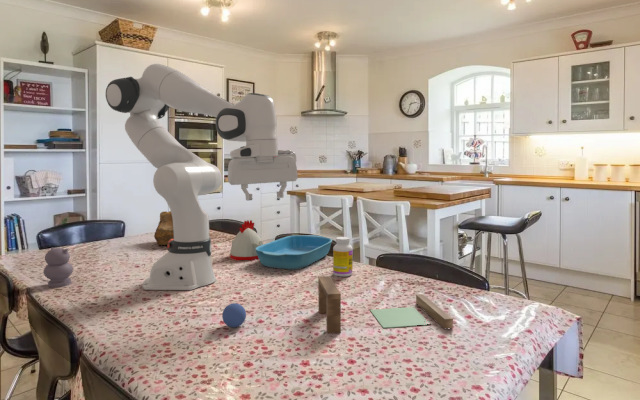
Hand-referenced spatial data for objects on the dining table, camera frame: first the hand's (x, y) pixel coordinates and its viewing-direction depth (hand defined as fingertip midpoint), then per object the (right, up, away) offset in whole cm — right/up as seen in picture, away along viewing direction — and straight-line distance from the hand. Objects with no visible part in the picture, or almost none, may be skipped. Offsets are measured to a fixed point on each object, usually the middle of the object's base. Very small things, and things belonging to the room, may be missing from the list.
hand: (265, 199), depth 123 cm
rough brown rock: (-53, -22, +77) cm, 96 cm away
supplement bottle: (+24, -26, +24) cm, 43 cm away
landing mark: (+36, -30, -15) cm, 49 cm away
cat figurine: (-68, -28, +15) cm, 75 cm away
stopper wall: (+45, -30, -14) cm, 56 cm away
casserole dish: (+6, -25, +46) cm, 52 cm away
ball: (-5, -28, -21) cm, 35 cm away
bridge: (+18, -30, -17) cm, 39 cm away
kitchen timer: (-14, -24, +52) cm, 59 cm away
